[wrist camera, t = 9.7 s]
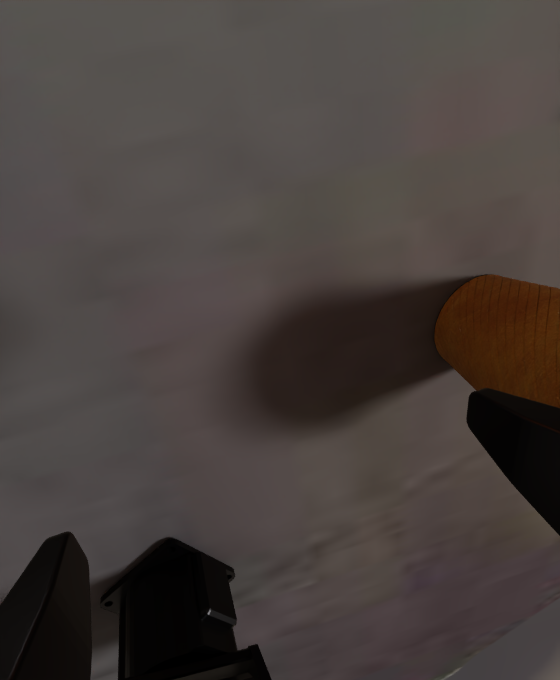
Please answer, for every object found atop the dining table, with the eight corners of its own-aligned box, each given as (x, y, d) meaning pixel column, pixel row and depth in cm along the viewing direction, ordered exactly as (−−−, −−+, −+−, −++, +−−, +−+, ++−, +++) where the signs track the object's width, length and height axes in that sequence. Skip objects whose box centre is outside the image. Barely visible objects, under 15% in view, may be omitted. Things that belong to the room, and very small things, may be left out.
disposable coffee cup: (407, 399, 28) (569, 551, 18) (416, 263, 23) (639, 362, 13) (521, 365, 30) (723, 482, 20) (548, 235, 25) (828, 301, 15)
